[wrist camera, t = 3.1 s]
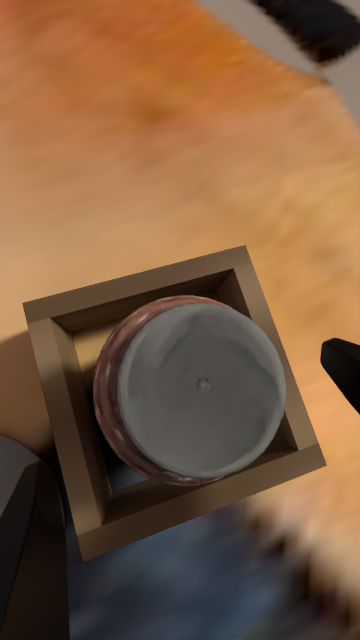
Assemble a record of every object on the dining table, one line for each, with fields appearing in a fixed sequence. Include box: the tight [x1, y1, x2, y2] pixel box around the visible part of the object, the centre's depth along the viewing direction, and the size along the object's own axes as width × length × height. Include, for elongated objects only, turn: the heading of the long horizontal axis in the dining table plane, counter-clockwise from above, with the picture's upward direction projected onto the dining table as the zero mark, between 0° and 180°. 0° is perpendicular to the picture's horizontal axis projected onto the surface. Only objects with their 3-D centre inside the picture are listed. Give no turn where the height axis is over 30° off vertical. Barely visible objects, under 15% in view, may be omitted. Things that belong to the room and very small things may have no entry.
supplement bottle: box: [93, 295, 286, 486], centre depth 13 cm, size 6×6×11 cm
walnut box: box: [22, 245, 327, 562], centre depth 16 cm, size 11×11×4 cm
